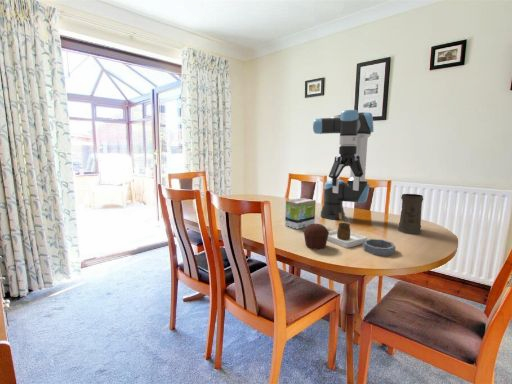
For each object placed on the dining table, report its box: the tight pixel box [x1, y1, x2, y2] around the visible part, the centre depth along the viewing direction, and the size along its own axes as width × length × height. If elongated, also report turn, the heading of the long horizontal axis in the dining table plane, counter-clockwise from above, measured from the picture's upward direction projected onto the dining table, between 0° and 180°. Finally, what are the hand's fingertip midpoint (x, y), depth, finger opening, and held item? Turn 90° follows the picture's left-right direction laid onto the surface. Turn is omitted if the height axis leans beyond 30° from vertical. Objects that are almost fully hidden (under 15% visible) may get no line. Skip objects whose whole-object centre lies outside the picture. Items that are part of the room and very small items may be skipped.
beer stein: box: [397, 193, 424, 235], centre depth 148 cm, size 15×11×20 cm
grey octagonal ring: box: [362, 238, 396, 257], centre depth 120 cm, size 12×12×3 cm
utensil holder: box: [336, 214, 351, 240], centre depth 132 cm, size 6×6×12 cm
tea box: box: [284, 197, 317, 230], centre depth 157 cm, size 15×10×15 cm, turn 131°
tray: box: [327, 229, 368, 249], centre depth 133 cm, size 16×14×2 cm
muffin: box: [302, 223, 329, 250], centre depth 124 cm, size 12×11×10 cm
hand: (345, 191), depth 129 cm, fingers open, 13 cm apart
